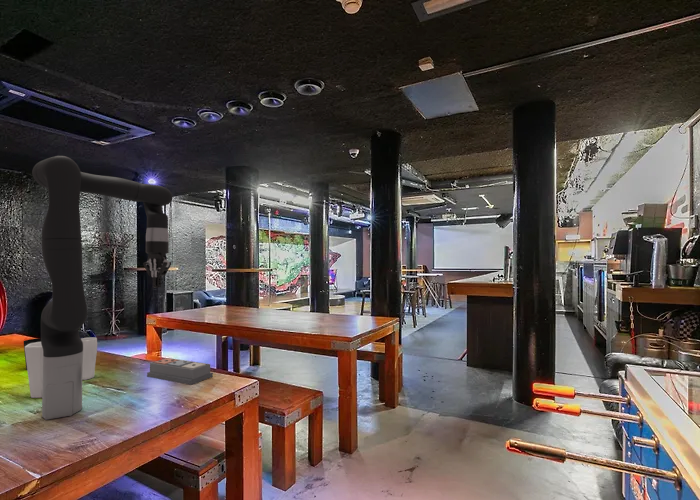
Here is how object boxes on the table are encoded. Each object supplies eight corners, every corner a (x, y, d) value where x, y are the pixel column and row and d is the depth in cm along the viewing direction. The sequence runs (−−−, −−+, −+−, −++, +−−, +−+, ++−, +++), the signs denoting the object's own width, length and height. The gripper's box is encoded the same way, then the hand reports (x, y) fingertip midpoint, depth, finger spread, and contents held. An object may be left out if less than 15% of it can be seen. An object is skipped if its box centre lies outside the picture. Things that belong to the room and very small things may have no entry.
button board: (212, 376, 137) (212, 363, 137) (191, 384, 128) (191, 370, 128) (169, 369, 147) (169, 357, 147) (147, 376, 138) (147, 363, 138)
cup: (27, 367, 153) (27, 339, 154) (49, 364, 156) (50, 337, 157) (19, 371, 146) (20, 342, 147) (43, 369, 149) (43, 340, 150)
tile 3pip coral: (178, 368, 142) (178, 359, 142) (164, 372, 137) (164, 363, 137) (167, 366, 145) (167, 357, 145) (154, 371, 139) (154, 361, 140)
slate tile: (191, 370, 139) (191, 360, 139) (178, 374, 134) (178, 364, 134) (180, 368, 142) (181, 359, 142) (167, 372, 136) (167, 363, 136)
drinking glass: (101, 375, 140) (101, 337, 140) (86, 381, 133) (87, 341, 134) (85, 375, 140) (85, 337, 141) (70, 381, 134) (70, 340, 134)
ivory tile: (205, 373, 136) (205, 363, 136) (192, 377, 130) (192, 367, 130) (194, 371, 138) (194, 361, 138) (181, 375, 133) (181, 365, 133)
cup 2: (58, 386, 128) (59, 338, 128) (71, 391, 122) (72, 341, 123) (17, 396, 118) (19, 344, 119) (29, 402, 113) (31, 348, 113)
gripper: (178, 240, 133) (178, 287, 132) (154, 242, 138) (154, 286, 138) (160, 239, 126) (159, 288, 125) (136, 240, 132) (135, 287, 131)
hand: (156, 287), depth 132 cm, fingers closed
